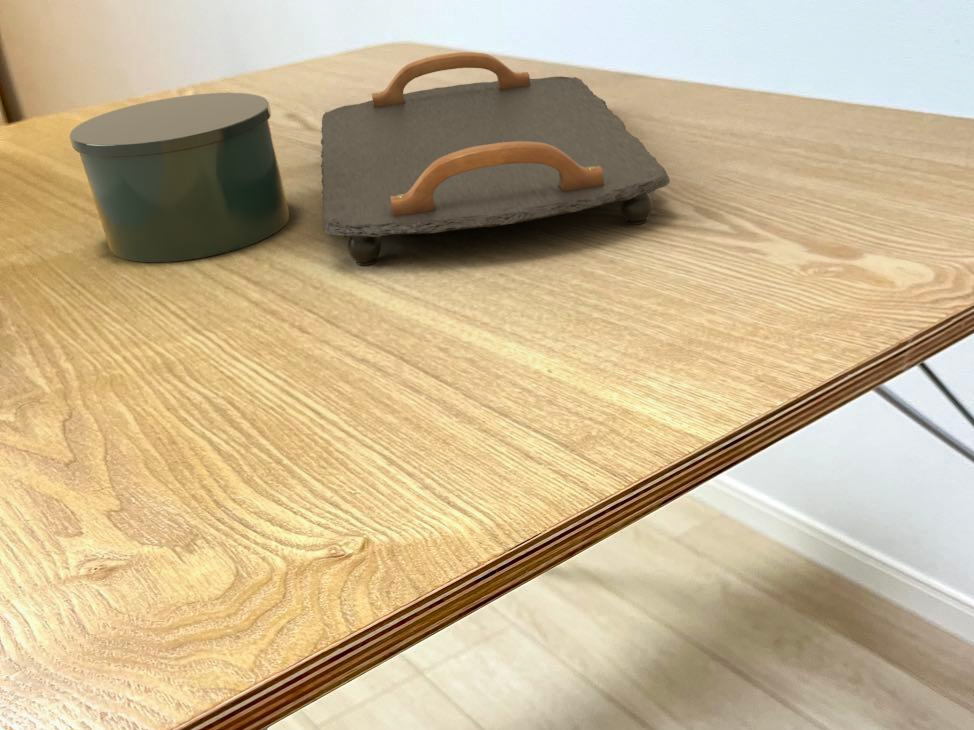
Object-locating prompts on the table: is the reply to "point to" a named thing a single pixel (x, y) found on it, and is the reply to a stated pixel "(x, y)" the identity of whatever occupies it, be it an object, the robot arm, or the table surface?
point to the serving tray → (476, 156)
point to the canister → (184, 176)
